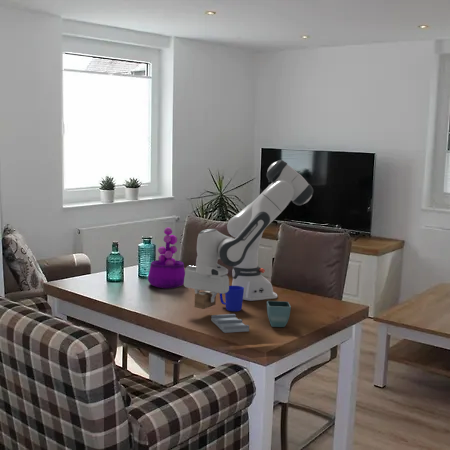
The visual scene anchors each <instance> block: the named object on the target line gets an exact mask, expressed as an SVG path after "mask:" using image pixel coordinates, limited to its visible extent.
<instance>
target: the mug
mask: <svg viewBox="0 0 450 450" xmlns="http://www.w3.org/2000/svg"><path fill="white" fill-rule="evenodd" d="M243 293H244V288H243V287H241V286H232V285H229V291H228V292H227V293H225V294H224V295H225V296H224V298H225V302H224V299H223V294H221V293H219V299H220V303H221V304H222V305H224V306H225V309H226V310H227V311H229V312H240V311H241V310H242V308H243V301H244V299H243Z"/></svg>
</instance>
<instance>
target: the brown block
mask: <svg viewBox="0 0 450 450" xmlns="http://www.w3.org/2000/svg"><path fill="white" fill-rule="evenodd" d="M199 292H200V293H197V294H196V293H195V294H194V308H195V309H196V308H197V309H202V310H205V309H208V308H210V307H213V306H215V305H216V302H217V300H216V299H217V295H216V296H215V298H214V302H209V298H210V297H212V295H213V294H212V292H210V291H204V290H202V291H199Z"/></svg>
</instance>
